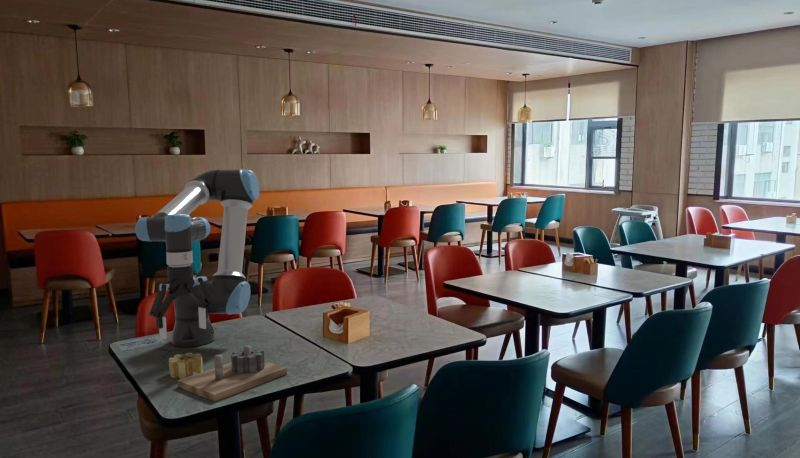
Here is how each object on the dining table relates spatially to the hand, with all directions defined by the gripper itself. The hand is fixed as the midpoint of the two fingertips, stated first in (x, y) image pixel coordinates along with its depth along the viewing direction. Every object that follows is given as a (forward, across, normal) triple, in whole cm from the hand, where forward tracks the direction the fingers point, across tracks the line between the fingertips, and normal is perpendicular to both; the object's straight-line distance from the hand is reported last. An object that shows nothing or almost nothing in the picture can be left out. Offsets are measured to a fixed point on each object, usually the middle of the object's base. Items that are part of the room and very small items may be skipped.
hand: (183, 333), depth 185 cm
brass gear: (+13, 0, 0) cm, 13 cm away
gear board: (+13, +5, -17) cm, 22 cm away
